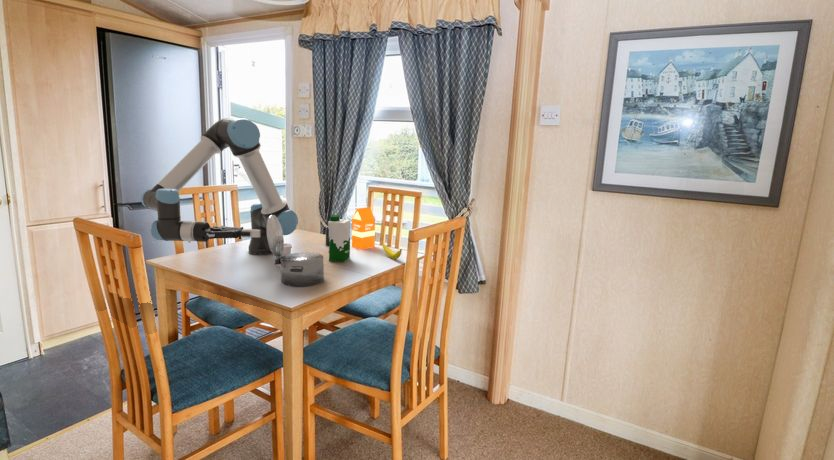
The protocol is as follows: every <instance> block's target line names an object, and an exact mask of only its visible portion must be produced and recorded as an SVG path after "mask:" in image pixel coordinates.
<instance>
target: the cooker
mask: <svg viewBox="0 0 834 460" xmlns="http://www.w3.org/2000/svg"><path fill="white" fill-rule="evenodd" d="M324 262H325V261H324V255H322V254H320V253H315V252H304V251H303V252H293V253H291V254H287V255H284V256H280V257H275V259H274V265H275V266H280V264H281V268H280V282H281V284H282V285H284V286H287V287H293V288H304V287H305V288H307V287H312V286H317V285H319V284H321V283H323V282H324V281H325V276H324V275H325V274H324V268H325V267H324Z"/></svg>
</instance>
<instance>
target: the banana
mask: <svg viewBox="0 0 834 460" xmlns="http://www.w3.org/2000/svg"><path fill="white" fill-rule="evenodd" d="M381 246H382V249H383V251H384V253H385V254H386V255H387V257H389V258H390V259H393V260H397V259H398V258H400V257H401V254H402V250H403V249H400V250H399V249H398V250H397V251H396V252H395V251H393V250H392V249H391V248H390V247H388V246H387V245H386V244H385V243H383V242H382V245H381Z"/></svg>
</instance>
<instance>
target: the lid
mask: <svg viewBox="0 0 834 460" xmlns="http://www.w3.org/2000/svg"><path fill="white" fill-rule="evenodd" d="M266 233H267V240H268V244H269V247H270V250H271V252H272V254H271V255H273V257H275V258H277V257H280V256H282V254H283V249H284V244H285V242H284V241H285V239H284V235H283V232H282V228H281V225H280V222H279V220H278V218H277V217H276V216H275V215H270V216H269V217H268V219H267V223H266Z"/></svg>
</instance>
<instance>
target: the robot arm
mask: <svg viewBox="0 0 834 460" xmlns="http://www.w3.org/2000/svg"><path fill="white" fill-rule="evenodd" d="M260 138H261V132H260V129H259V127H258V125H257V124H256V123H255V122H254V121H252V120H250V119H249V118H244V117H231V118H230V117H225V118H224V117H223V118H221V119H219V120H218V121H216V122H215V123H214V124H213V125H210V127H209V128H208V129H207V130H206V131H205V132H204V133H203V134H202V135H201V136H200V141H199V142H198V143H197V144H196V145H195V146H193V148H192V149H191V150H190V151H189V152H188V153H187V154H186V155H185V156H184V157H182V159H180V161H179V162H178V163H177V164H176V165H175V166H173V168H172V169H171V170H170V171H169V172H168V173H167V174H165V176H163V178H162V179H161V180H160V181H159V182H158V183H156V185H154V187H152V188H151V189H148V190H145V191H144V192H143V193H142V194H141V197H140V202H141V204H142V205H143V206H144V208H147V209H149V210H151V211H156V212H157V220H154V221H153V222H151V223H152V224H151V228H150V235H151V237H152V238H153V239H154V240H156V241H165V242H169V241H170V242H178V241H179V242H187V243H189V244H190V243H191V242H201V243H206V242H208V241H209V240H213V239H238V240H241V239H242V238H250V241H249V245H248V253H249V254H252V255H258V256H259V255H273V254H272V252H271V250H270V247H269V244H268V240H267V233H266V223H267V219H268V217H269V216H270V215H275V216H276V217H277V218H278V220H279V222H280V225H281V228H282V232H283V236H288V235H290V234H292V233H294V231H296V229H297V226H298V225H299V217H298V215H297V213H296V212H295V211H293V210H292V209H290V207H289V206H288V203H287V201H286V200H284V199H282V197H281V196H280V193H279V191H278V190H277V187H276V185H275V183H274V181H273V178H272V176H271V174H270V172H269V170H268V168H267V166H266V163H265V161H264V159H263V158H264V157H262V154H261V153H260V148H261V146H262V145H261V142H260ZM227 148H229V149H230V151H231V153H232V155H233V157H235V158H238V160H239V161H240V163H241V165H242V168H243V170H244V172H245V173H246V176H247V178H248V180H249V182H250V183H251V186H252V188H253V191H254V192H255V194H256V196H257V198H258V200H259V202H260V203H253V204H251V206H250V211H249V212H250V224H251V228H250V229H249V228H248V229H247V228H244V227H243V226H241V227H235V226H225V225H221V226H218V225H214V226H213V227H212V226H210V224H209V223H208V221H195V220H193V221H192V220H191V221H190V220H183V221H182V219H181V203H180V200H181V197H180V193H179V192H180V191H181V190H182V189H183V188H184V187H185V186H186V185H187V184H188V183H189V182H190V181H191V180H192V179H193V177H195V175H197V173H199V172H200V171H201V170H202V169H203V168H204V167H205V166H206V164H208V163H209V162H210V161H211V160H212V159H213V157H214V156H215V155H216V154H217V155H218V154H221V153H222V152H223V151H224V150H225V149H227Z"/></svg>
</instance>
